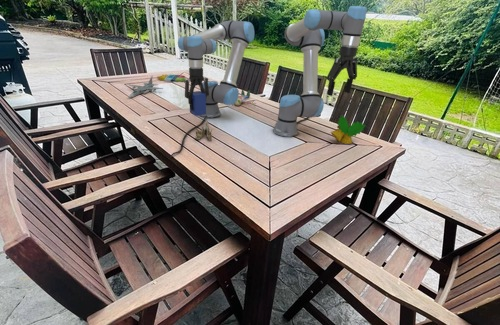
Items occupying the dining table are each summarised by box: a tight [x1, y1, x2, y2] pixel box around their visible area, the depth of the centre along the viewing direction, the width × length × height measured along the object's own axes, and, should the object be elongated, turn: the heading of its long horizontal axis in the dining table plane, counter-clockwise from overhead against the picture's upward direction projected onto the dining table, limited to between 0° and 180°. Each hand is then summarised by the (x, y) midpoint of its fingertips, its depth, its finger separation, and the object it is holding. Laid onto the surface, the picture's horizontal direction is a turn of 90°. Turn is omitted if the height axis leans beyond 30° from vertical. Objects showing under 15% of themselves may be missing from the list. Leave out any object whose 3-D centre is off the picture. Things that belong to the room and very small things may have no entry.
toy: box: [233, 89, 257, 106], centre depth 219 cm, size 28×7×30 cm
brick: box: [189, 90, 206, 117], centre depth 151 cm, size 7×7×12 cm
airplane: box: [127, 75, 164, 99], centre depth 224 cm, size 38×31×10 cm
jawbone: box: [195, 119, 213, 141], centre depth 151 cm, size 9×15×10 cm
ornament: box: [330, 114, 367, 145], centre depth 158 cm, size 21×8×15 cm, turn 105°
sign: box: [156, 74, 187, 83], centre depth 278 cm, size 26×2×30 cm
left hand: (197, 108), depth 152 cm, fingers closed on brick, 7 cm apart
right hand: (338, 93), depth 127 cm, fingers open, 13 cm apart
